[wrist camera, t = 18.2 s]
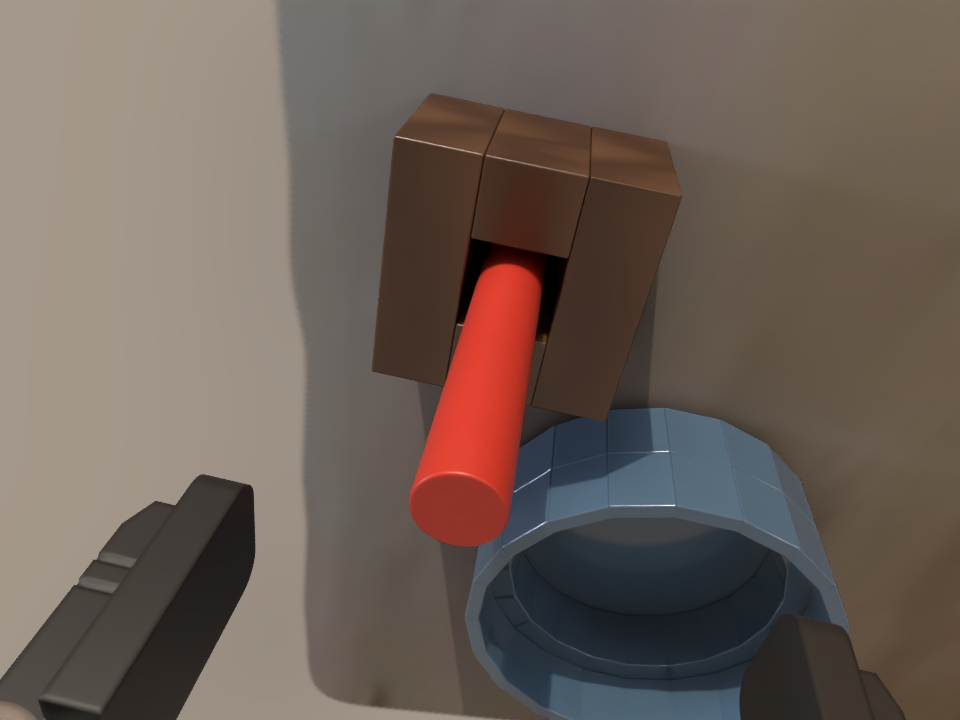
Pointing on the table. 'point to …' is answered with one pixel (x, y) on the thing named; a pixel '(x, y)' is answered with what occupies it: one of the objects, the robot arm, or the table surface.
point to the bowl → (644, 568)
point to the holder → (522, 242)
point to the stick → (482, 406)
